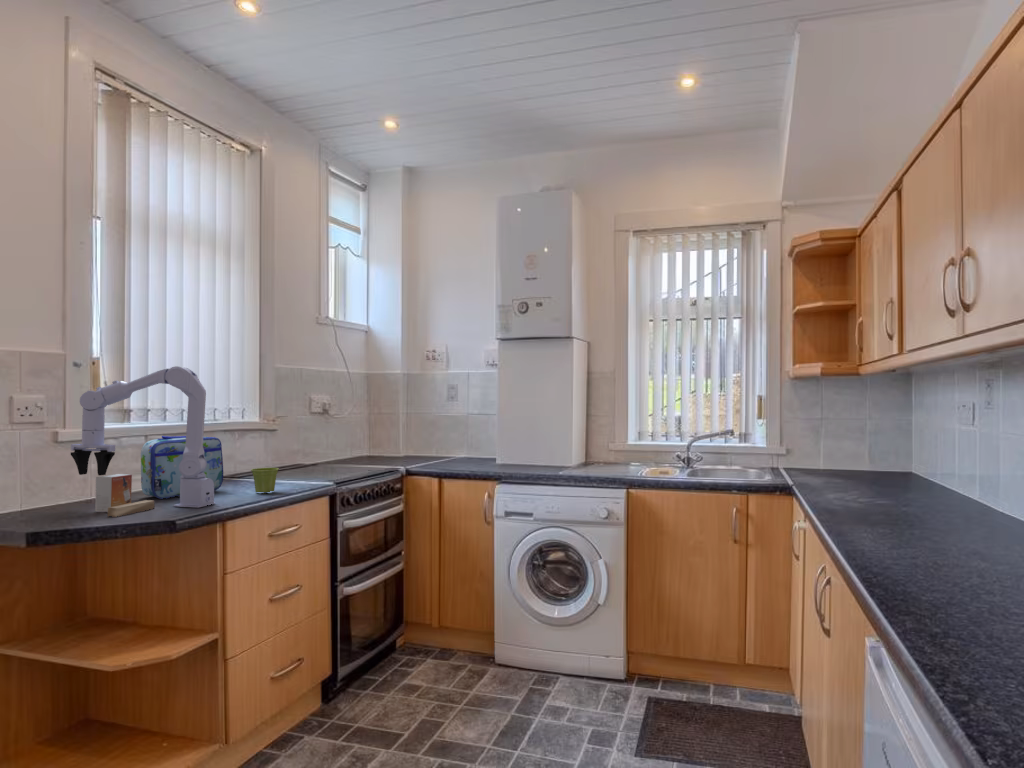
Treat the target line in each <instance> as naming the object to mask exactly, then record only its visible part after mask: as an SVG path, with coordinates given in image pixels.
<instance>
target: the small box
mask: <svg viewBox="0 0 1024 768" xmlns="http://www.w3.org/2000/svg"><path fill="white" fill-rule="evenodd" d="M132 476H133V474H130V473H129V474H126V473H116V474H110V475H109V474H108V475H100V476H95V499H94V501H95V502H94V503H95V504H94V505H95V506H94V507H95V508H94V509H95V510H94V512H96V513H108V508H109V507H114V506H119V505H124V504H129V503H132V486H133V485H132V483H133V481H132V480H133V477H132Z"/></svg>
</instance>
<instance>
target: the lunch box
mask: <svg viewBox="0 0 1024 768" xmlns="http://www.w3.org/2000/svg"><path fill="white" fill-rule="evenodd" d="M185 446H186V435H181V436H174V435H173V436H165V435H161V438H157V439H151V440H148V441H146V442H145V443H144V444H143V446H142V447H141V450H140V484H141V485H140V486H141V491H142V493H143V495H145V496H149V497H150V496H151V497H155V498H158V499H160V500H164V499H163V498H166V499H170V497H171V498H176V497H175V496H178V497H180V476H182V474H181V473H180V471H179V464H180V462H181V461H182V459H183V453H184V450H185ZM222 447H223V446H222V442H221V440H220V439H219V438H218V437H215V436H214V437H212V436H204V435H203V449H204V457H205V459H206V462H207V467H206V469H205V470H204V471H203V472H204V473H205V474H206V476H205V477H206V478H210V479H212V480H213V482H214V491H216V490H217V491H218V490H219V489H220V488H221V487H222V484H223V481H224V461H223V451H222V450H223V448H222Z"/></svg>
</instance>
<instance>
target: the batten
mask: <svg viewBox="0 0 1024 768" xmlns="http://www.w3.org/2000/svg"><path fill="white" fill-rule="evenodd" d="M153 508H154V509H155V500H151V499H148V500H147V499H145V500H140V501H136V502H131V503H129V504H124V505H119V506H114V507H109V508H108V512H107V517H109V516H112V517H113V518H117V516H118V517H122V515H123V516H126V515H127V514H128V515H132V514H135V513H136V512H137V513H141V512H145V510H146V511H149V509H151V510H154V509H153ZM140 511H141V512H140ZM131 513H132V514H131Z"/></svg>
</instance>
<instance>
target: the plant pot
mask: <svg viewBox="0 0 1024 768" xmlns="http://www.w3.org/2000/svg"><path fill="white" fill-rule="evenodd" d="M279 470H280V468H278V467H257V468H251V470H250V471H251V472H252V476H253V484H254V488H255V489H254V490H255V491H254V492H255V493H256V492H270V491H274V492H275V488H276V487H275V486H276V481H277V475H278V471H279Z"/></svg>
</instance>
